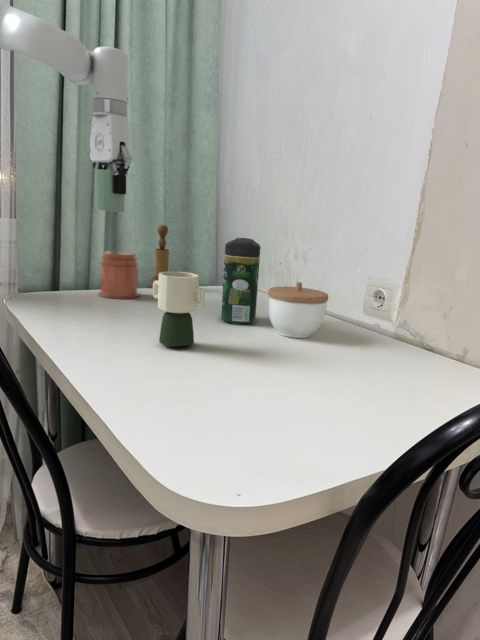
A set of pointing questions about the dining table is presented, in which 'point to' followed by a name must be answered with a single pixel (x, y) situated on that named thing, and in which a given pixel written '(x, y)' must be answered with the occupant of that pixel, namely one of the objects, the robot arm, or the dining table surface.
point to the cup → (107, 193)
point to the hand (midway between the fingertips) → (110, 192)
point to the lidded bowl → (296, 310)
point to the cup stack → (119, 275)
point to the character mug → (178, 306)
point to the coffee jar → (240, 281)
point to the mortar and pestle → (161, 255)
